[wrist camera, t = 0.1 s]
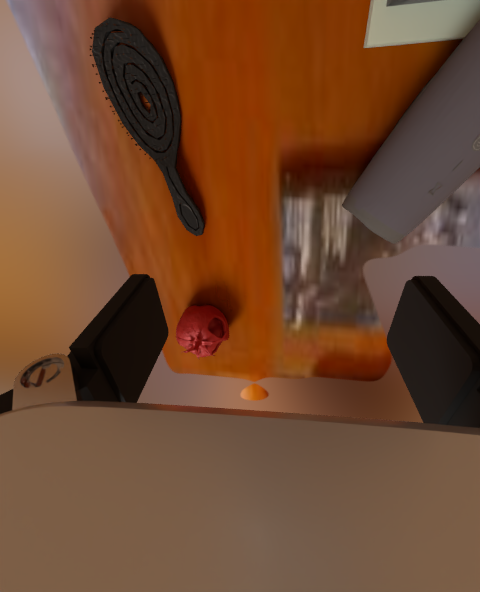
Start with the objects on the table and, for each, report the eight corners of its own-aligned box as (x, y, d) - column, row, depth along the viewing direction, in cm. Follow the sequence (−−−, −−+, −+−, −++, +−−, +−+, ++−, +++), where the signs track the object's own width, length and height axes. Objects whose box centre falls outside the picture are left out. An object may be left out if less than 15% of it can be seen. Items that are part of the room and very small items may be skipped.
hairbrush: (172, 247, 42) (65, 36, 28) (178, 236, 45) (85, 40, 31) (221, 234, 40) (133, -1, 26) (225, 224, 43) (147, 8, 28)
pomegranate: (184, 333, 56) (169, 369, 49) (180, 295, 50) (162, 328, 43) (231, 339, 55) (222, 376, 48) (232, 301, 49) (223, 336, 42)
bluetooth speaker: (376, 221, 39) (414, 257, 31) (327, 191, 36) (356, 223, 28) (548, 27, 27) (680, 9, 19) (496, -45, 23) (629, -101, 16)
